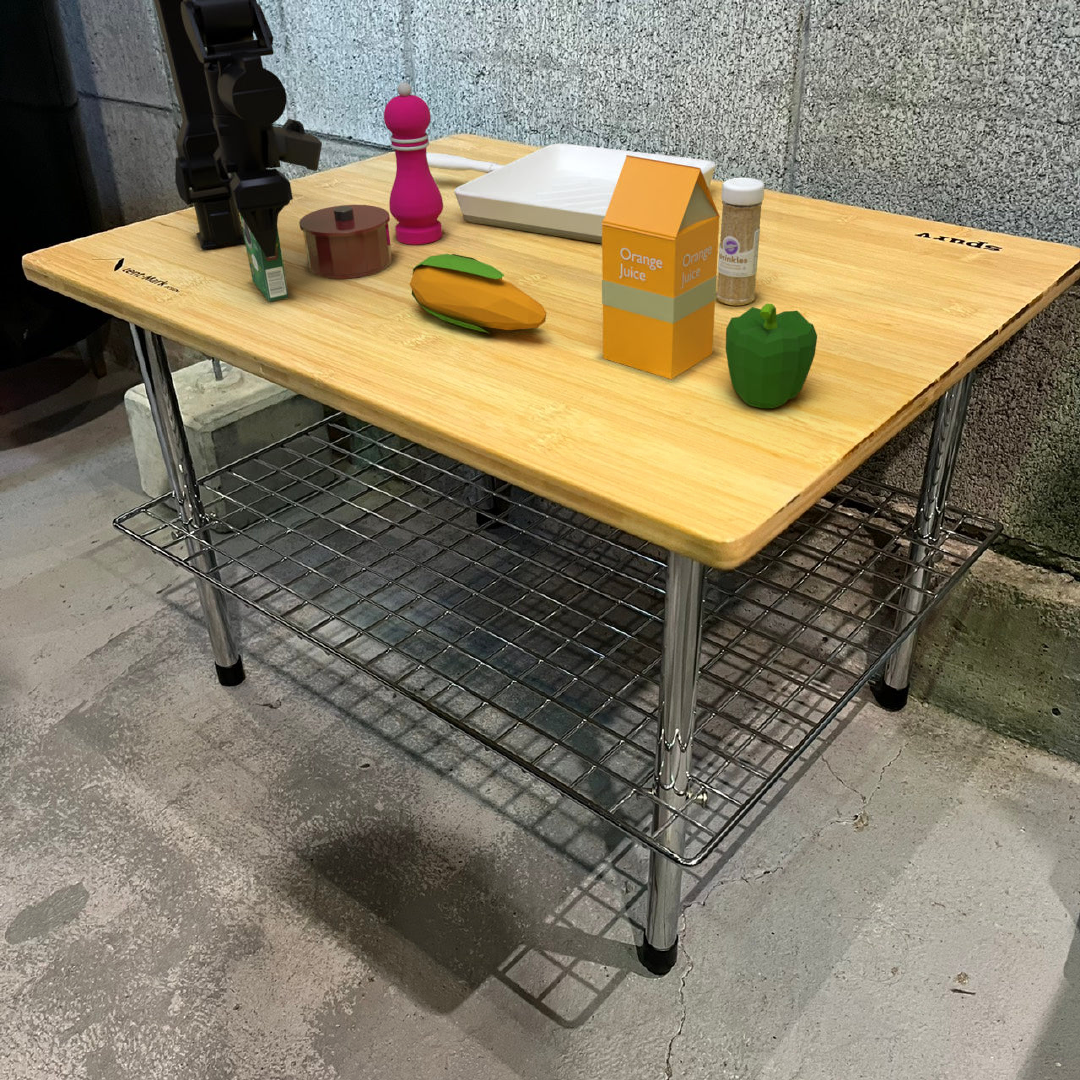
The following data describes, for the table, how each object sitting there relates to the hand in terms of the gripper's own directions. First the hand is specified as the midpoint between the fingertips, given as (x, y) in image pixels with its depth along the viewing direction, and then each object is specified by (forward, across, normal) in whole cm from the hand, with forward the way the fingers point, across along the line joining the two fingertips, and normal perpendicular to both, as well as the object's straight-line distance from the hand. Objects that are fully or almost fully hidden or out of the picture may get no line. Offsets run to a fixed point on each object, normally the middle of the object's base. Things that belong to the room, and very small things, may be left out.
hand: (264, 245), depth 131 cm
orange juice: (+6, -38, -34) cm, 51 cm away
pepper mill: (+6, +11, -22) cm, 25 cm away
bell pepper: (+6, -51, -39) cm, 64 cm away
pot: (+6, +5, -11) cm, 13 cm away
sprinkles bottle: (+6, -28, -49) cm, 57 cm away
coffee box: (+6, 0, 0) cm, 6 cm away
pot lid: (0, +5, -11) cm, 12 cm away
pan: (+6, +18, -42) cm, 47 cm away
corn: (+6, -22, -20) cm, 30 cm away
